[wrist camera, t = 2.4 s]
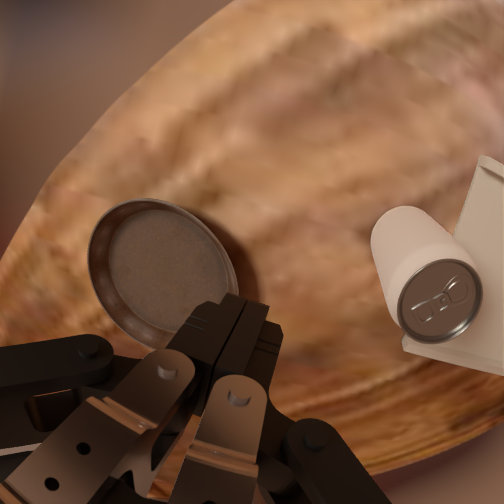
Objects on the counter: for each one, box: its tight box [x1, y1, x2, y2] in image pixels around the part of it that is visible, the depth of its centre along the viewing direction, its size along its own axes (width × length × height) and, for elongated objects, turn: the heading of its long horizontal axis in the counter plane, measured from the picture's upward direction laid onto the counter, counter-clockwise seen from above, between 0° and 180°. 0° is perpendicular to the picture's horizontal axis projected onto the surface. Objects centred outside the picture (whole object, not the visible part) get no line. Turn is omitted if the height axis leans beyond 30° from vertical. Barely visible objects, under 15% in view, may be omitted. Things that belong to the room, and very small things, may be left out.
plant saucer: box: [87, 198, 239, 350], centre depth 33 cm, size 18×18×3 cm
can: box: [371, 206, 483, 344], centre depth 22 cm, size 6×6×12 cm
